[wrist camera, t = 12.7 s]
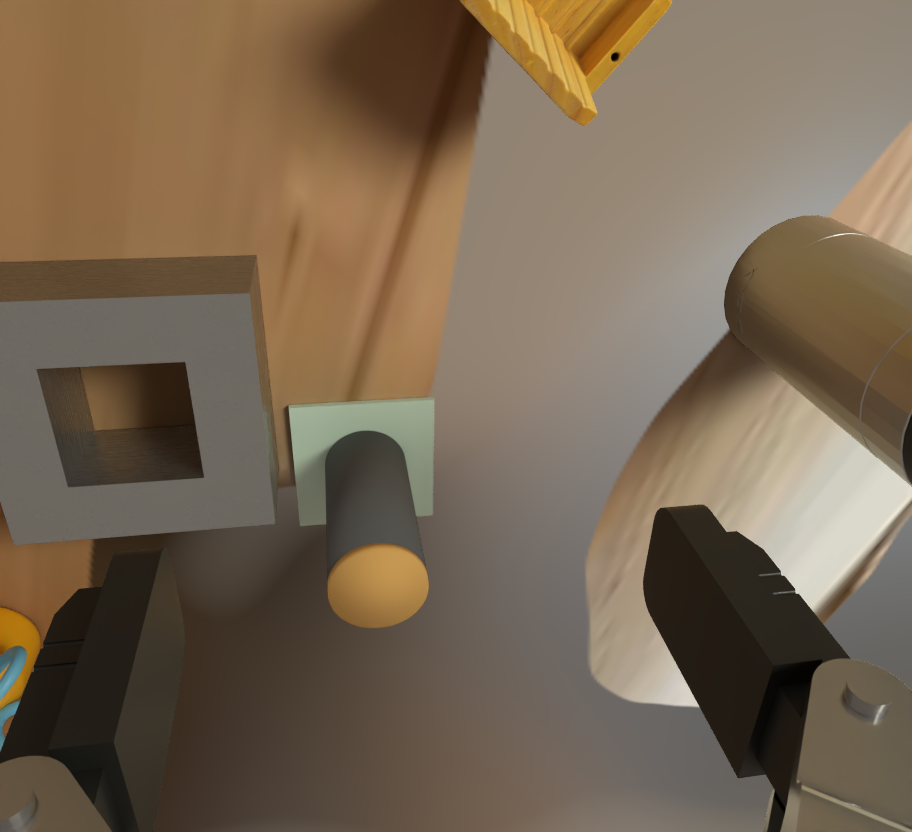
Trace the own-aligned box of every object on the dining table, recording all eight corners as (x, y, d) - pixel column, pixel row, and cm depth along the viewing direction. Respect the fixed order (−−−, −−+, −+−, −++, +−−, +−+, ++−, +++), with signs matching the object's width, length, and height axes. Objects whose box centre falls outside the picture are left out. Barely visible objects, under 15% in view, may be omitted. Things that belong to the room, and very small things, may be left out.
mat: (433, 396, 49) (434, 399, 49) (432, 511, 54) (433, 515, 53) (288, 404, 48) (288, 408, 47) (299, 522, 52) (299, 526, 52)
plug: (405, 427, 49) (429, 546, 39) (406, 495, 52) (428, 622, 42) (322, 433, 49) (324, 555, 38) (327, 500, 51) (330, 632, 41)
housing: (256, 255, 43) (249, 293, 38) (278, 467, 50) (275, 524, 45) (-17, 262, 41) (-64, 304, 36) (46, 483, 48) (14, 545, 42)
